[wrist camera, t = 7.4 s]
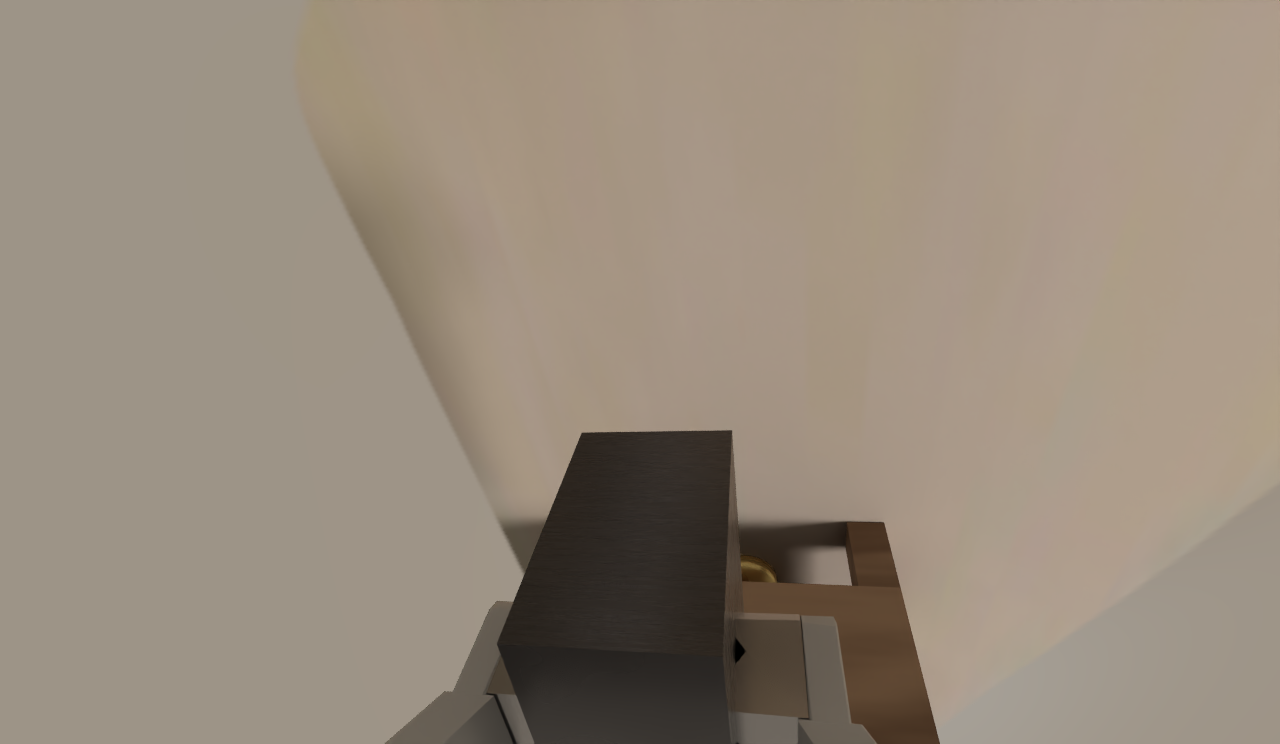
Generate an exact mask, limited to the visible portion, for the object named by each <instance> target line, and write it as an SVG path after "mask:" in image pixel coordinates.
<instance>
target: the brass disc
mask: <svg viewBox="0 0 1280 744" xmlns="http://www.w3.org/2000/svg"><path fill="white" fill-rule="evenodd" d="M740 560H741V575H742V581H747V582H772V583H777V576H776V573H775V571H774V569H773V568H772V567H771V566H770V565H769V564H768V563H767V562H765V561H763V560H762V559H759V558H756V557H753V556H747V555H740Z"/></svg>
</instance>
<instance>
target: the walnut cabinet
mask: <svg viewBox="0 0 1280 744" xmlns="http://www.w3.org/2000/svg"><path fill="white" fill-rule="evenodd" d="M846 552H847V558H848V564H849V570H850V576H851V582H852V586H847V585H822V584H797V583H772V582H747V581H742V590H743V605H744V613H771V614H799V615H800V616H801V615H804V616H832V617H834V619H835V621H836V623H837V628H838V635H839V641H840V648H841V655H842V662H843V669H844V675H845V682H846V689H847V696H848V703H849V709H850V716H851V723H853V724H861V725H863V726H864V727H865V729H866V730H867V731H868V733H869V734H870V735H871V737H872V738H873V739H874V740H875V742H876V743H877V744H940V742H939V738H938V735H937V731H936V727H935V723H934V719H933V715H932V711H931V707H930V703H929V699H928V695H927V691H926V687H925V683H924V679H923V675H922V671H921V667H920V663H919V659H918V655H917V651H916V647H915V643H914V639H913V635H912V632H911V628H910V624H909V620H908V616H907V612H906V608H905V604H904V600H903V596H902V592H901V588H900V584H899V580H898V576H897V572H896V568H895V564H894V560H893V556H892V552H891V548H890V544H889V540H888V537H887V533H886V529H885V525H884V523H871V522H847V530H846Z"/></svg>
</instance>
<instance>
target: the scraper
mask: <svg viewBox="0 0 1280 744" xmlns="http://www.w3.org/2000/svg"><path fill="white" fill-rule="evenodd" d="M737 612H738V613H744V605H743V590H742V575H741V560H740V545H739V529H738V514H737V499H736V484H735V469H734V454H733V439H732V430H729V431H662V432H595V433H582V434H581V436H580V439H579V441H578V444H577V446H576V449H575V451H574V453H573V456H572V458H571V461H570V463H569V466H568V468H567V471H566V473H565V476H564V478H563V481H562V483H561V486H560V488H559V491H558V493H557V495H556V498H555V500H554V503H553V505H552V508H551V510H550V513H549V515H548V518H547V520H546V523H545V525H544V528H543V530H542V533H541V535H540V538H539V540H538V542H537V545H536V547H535V550H534V552H533V555H532V557H531V560H530V562H529V565H528V567H527V570H526V572H525V575H524V577H523V580H522V582H521V585H520V587H519V590H518V592H517V595H516V597H515V600H514V602H513V604H512V607H511V609H510V612H509V614H508V617H507V619H506V622H505V624H504V627H503V629H502V632H501V634H500V636H499V639H498V641H497V646H498V649H499V651H500V654H501V657H502V659H503V662H504V664H505V667H506V670H507V672H508V675H509V678H510V680H511V683H512V686H513V688H514V691H515V693H516V696H517V699H518V701H519V704H520V707H521V709H522V712H523V715H524V717H525V720H526V722H527V725H528V728H529V730H530V733H531V736H532V738H533V741H534V743H535V744H739V743H738V742H737V737H736V726H735V715H734V701H735V664H736V663H737V662H738V660H737V647H736V617H737Z"/></svg>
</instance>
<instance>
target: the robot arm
mask: <svg viewBox="0 0 1280 744" xmlns="http://www.w3.org/2000/svg"><path fill="white" fill-rule="evenodd" d="M512 604H513V602H505V601H497V602H496V603H495V604H494V605H493V606H492V607H491V609H490V610H489V612H488V614H487V616H486V618H485V621H484V623H483V625H482V627H481V630H480V632H479V634H478V636H477V639H476V641H475V643H474V645H473V648H472V650H471V652H470V655H469V657H468V659H467V661H466V663H465V666H464V668H463V670H462V673H461V675H460V677H459V679H458V681H457V684H456V686H455V688H454V690H453V692H446V691H444V692H443V693H442V694H441V695H440V696H439V697H438V698H436V699H435V700H434V701H433V702H432V703H431V704H429V705H428V706H427V707H426V708H425V709H424V710H423V711H421V712H420V713H419V714H418V715H417V716H416V717H415V718H413V719H412V720H411V721H410V722H409V723H408V724H407V725H406V726H404V727H403V728H402V729H401V730H400V731H398V732H397V733H396V734H395V735H394V736H393V737H392V738H390V740H388V741H387V742H386V743H385V744H535V743H534V741H533V738H532V736H531V733H530V730H529V728H528V725H527V722H526V720H525V717H524V715H523V712H522V709H521V707H520V704H519V701H518V699H517V696H516V693H515V691H514V688H513V686H512V683H511V680H510V678H509V675H508V672H507V670H506V667H505V664H504V662H503V659H502V657H501V654H500V651H499V649H498V646H497V641H498V639H499V636H500V634H501V632H502V629H503V627H504V624H505V622H506V619H507V617H508V614H509V612H510V609H511V607H512ZM736 647H737V660H738V662H737V663H736V664H735V701H734V715H735V726H736V737H737V742H738V743H739V744H877V743H876V742H875V740H874V739H873V738H872V737H871V735H870V734H869V733H868V731H867V730H866V729H865V727H864V726H863V725H861V724H853V723H851V716H850V709H849V703H848V696H847V689H846V682H845V675H844V669H843V662H842V655H841V648H840V641H839V635H838V628H837V623H836V621H835V619H834V617H832V616H804V615H801V616H800V615H799V614H771V613H738V612H737V617H736Z"/></svg>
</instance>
